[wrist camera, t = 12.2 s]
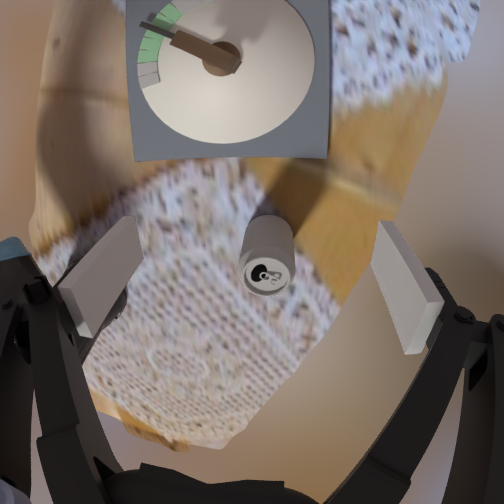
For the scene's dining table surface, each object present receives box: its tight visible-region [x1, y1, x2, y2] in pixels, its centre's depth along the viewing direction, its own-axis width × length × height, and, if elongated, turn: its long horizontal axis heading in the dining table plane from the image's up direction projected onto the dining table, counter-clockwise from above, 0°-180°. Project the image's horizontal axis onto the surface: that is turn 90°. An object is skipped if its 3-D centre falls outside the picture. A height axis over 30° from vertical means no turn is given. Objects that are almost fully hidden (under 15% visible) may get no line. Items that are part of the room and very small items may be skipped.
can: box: [237, 215, 295, 297], centre depth 43 cm, size 8×8×12 cm
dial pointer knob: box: [139, 21, 242, 77], centre depth 27 cm, size 5×16×11 cm, turn 58°
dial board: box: [126, 0, 330, 162], centre depth 34 cm, size 28×28×2 cm
